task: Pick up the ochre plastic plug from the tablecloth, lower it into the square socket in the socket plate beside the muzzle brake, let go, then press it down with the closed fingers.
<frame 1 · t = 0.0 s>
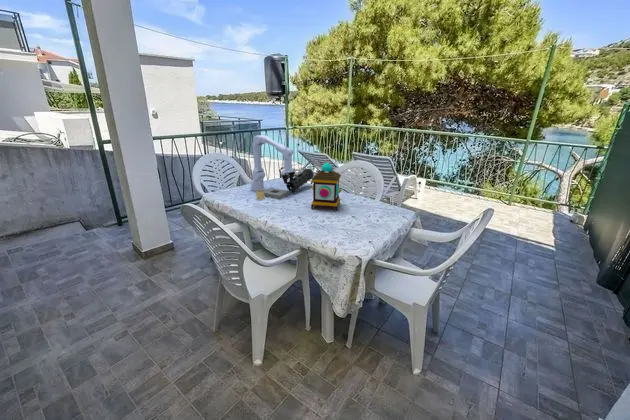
hand: (288, 182, 210), 10 cm above the table, tool pointing down, fingers open, 7 cm apart
socket plate: (275, 195, 213), on the table
plug: (260, 199, 204), on the table
muzzle brake: (301, 185, 229), point 3 cm above the table
decorative lantern: (326, 206, 190), on the table
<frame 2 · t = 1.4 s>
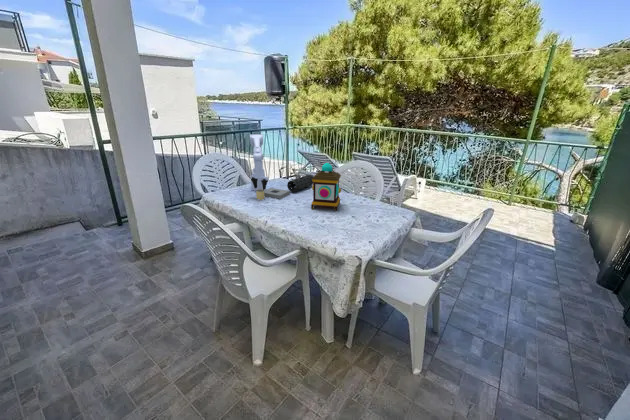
hand: (260, 188, 201), 8 cm above the table, tool pointing down, fingers open, 7 cm apart
muzzle brake: (301, 189, 230), on the table
everything else where it was.
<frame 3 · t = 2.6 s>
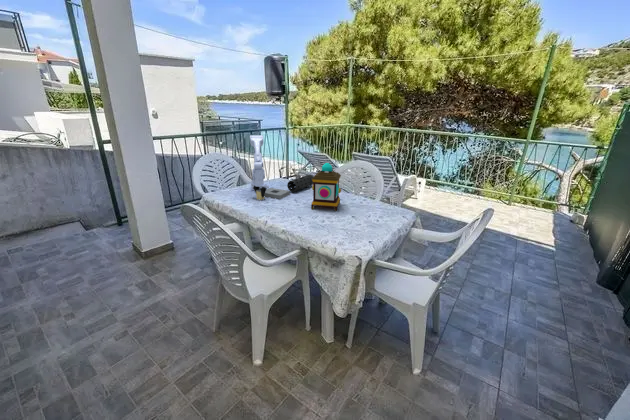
hand: (260, 196, 203), 2 cm above the table, tool pointing down, fingers closed on plug, 4 cm apart
plug: (260, 199, 204), on the table, touching gripper
everything else where it was.
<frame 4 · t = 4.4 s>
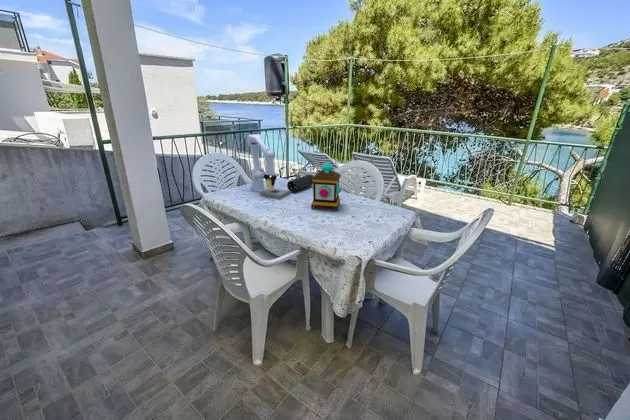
hand: (270, 184, 207), 9 cm above the table, tool pointing down, fingers closed on plug, 4 cm apart
plug: (270, 187, 208), point 7 cm above the table, touching gripper
everything else where it was.
when the fingers open (4 cm above the table, at t = 6.1 s): plug drops 2 cm, resting in socket plate.
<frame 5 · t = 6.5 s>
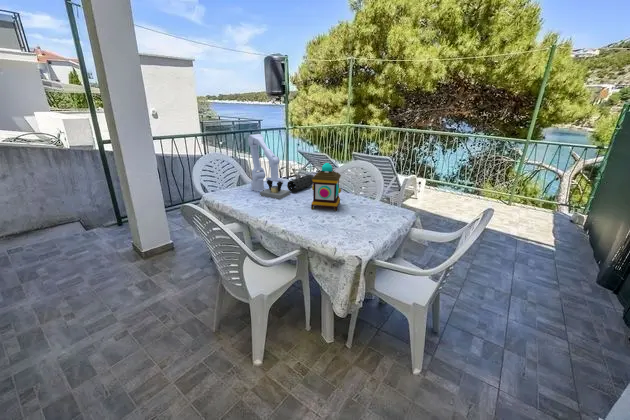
hand: (275, 190, 211), 4 cm above the table, tool pointing down, fingers open, 7 cm apart
plug: (275, 195, 213), resting in socket plate
everything else where it was.
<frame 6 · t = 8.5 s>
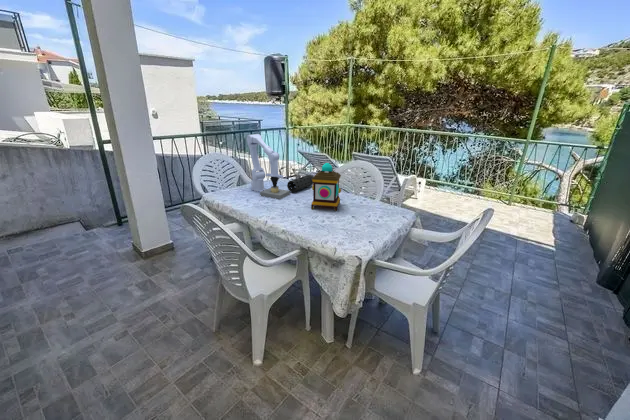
hand: (274, 186, 210), 7 cm above the table, tool pointing down, fingers closed, pressing on plug
plug: (275, 195, 213), resting in socket plate, touching gripper
everything else where it was.
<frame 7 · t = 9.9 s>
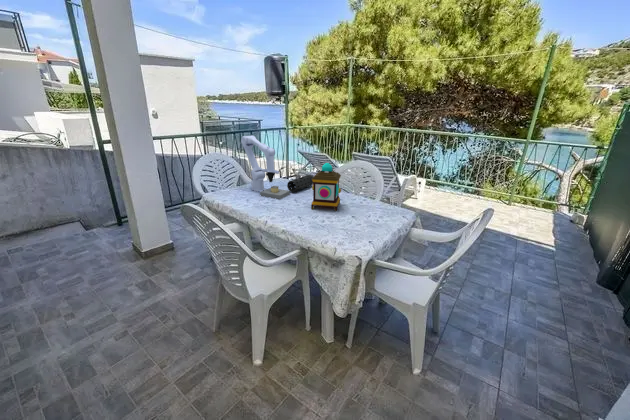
hand: (270, 181, 213), 9 cm above the table, tool pointing down, fingers closed
plug: (275, 195, 213), resting in socket plate
everything else where it was.
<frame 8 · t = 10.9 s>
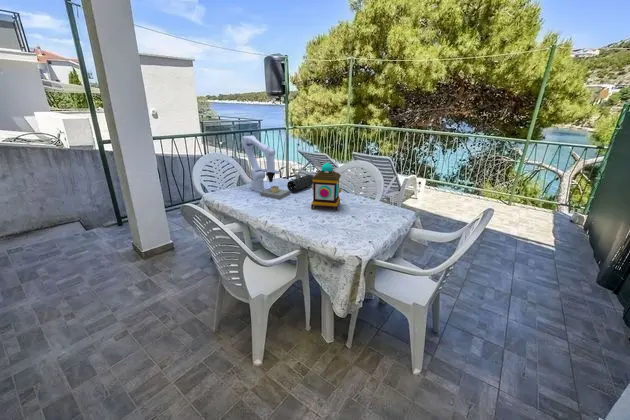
hand: (270, 181, 213), 9 cm above the table, tool pointing down, fingers closed
nothing on the table moved.
at the end: plug 0.3 cm off-centre on the socket plate, point 0.0 cm above the socket plate's base; plug tilted 0°; the gripper is holding nothing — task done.
